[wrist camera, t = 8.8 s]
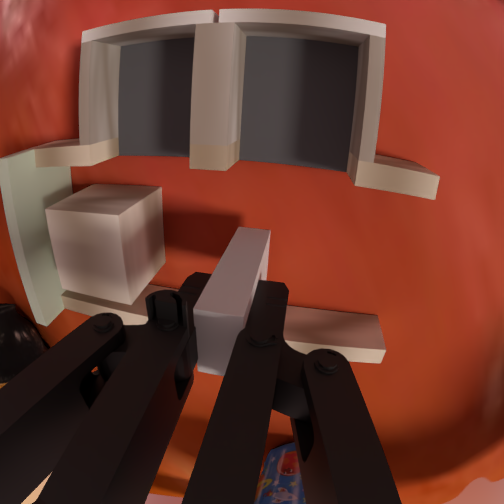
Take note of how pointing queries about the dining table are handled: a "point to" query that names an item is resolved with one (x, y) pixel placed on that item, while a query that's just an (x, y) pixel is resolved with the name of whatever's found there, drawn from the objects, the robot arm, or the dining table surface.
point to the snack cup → (281, 478)
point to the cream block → (108, 240)
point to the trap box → (216, 133)
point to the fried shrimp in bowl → (17, 343)
